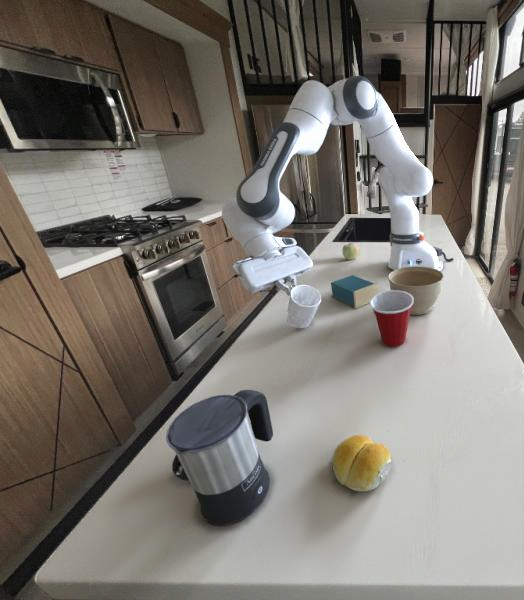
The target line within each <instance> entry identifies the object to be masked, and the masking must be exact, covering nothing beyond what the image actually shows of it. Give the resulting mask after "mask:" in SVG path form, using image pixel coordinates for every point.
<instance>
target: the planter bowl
mask: <svg viewBox="0 0 524 600" xmlns="http://www.w3.org/2000/svg"><path fill="white" fill-rule="evenodd" d="M387 280H388V282H389V289H390V291H392V290H399V291H405V292H407V293H409V294H411V295H412V296H413V298H414V303H413V305H412V307H411V311H410V315H413V316H417V315H424V314H427V313H429V312H431V310H432V309H433V306H434V305H435V303H436V302H437V301H438V299H439V297H440V295H441V292H442V288H443V282H444V273H443V272H442V270H440V271H439V270H437V269H434V268H430V267H423V266H411V267H404V268H400V269H397V270H392V271H391V272H390V273H389V274H388V279H387Z"/></svg>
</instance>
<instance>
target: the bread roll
mask: <svg viewBox="0 0 524 600" xmlns="http://www.w3.org/2000/svg"><path fill="white" fill-rule="evenodd" d="M391 458H392V455H391V452H390V451H389V449H388V448H387V447H386V446H385V445H384V444H383V443H378V442H373V441H372V439H371V438H370V437H369V436H367V435H363V434H355V435H351V436H350V437H347V438H345V439H344V440H343V441H342V442H340V443H339V445H338V446H336V449H335V451H334V452H333V457H332V470H333V473H334V477H335V478H336V480H337V482H338V483H340V484H341V485H343V486H345V487H347V488H348V489H350V490H351V491H355V492H370V491H372V490H374V489H376V488H378V487H379V485H380V484H381V483H382V482H383V481H384V480H385V478H386V477H387V475H388V474H389V472H390V470H391V468H392V459H391Z"/></svg>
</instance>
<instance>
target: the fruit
mask: <svg viewBox="0 0 524 600" xmlns="http://www.w3.org/2000/svg"><path fill="white" fill-rule="evenodd" d="M341 251H342V256H343V257H344V258H345V259H346V260H355V259H357V258H359V255H360V247H359V245H358V244H356V243H354V242H349V243H346V244H344V245H343V247H342V250H341Z"/></svg>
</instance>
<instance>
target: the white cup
mask: <svg viewBox="0 0 524 600" xmlns="http://www.w3.org/2000/svg"><path fill="white" fill-rule="evenodd" d="M321 301H322V295H321V293H320V291H319V290H318V289H316V288H315V287H313V286H312V285H309V284H297V286H296V287H294V288H293V289H292V290H291V292H290V296H289V299H288V305H287V314H286V321H287V322H288V324H289V326H291V327H292V328H295V329H306V328H308V327H309V326H310V325H311V324H312V322H313V319H314V318H315V316H316V313H317V311H318V309H319V307H320V303H321Z"/></svg>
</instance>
